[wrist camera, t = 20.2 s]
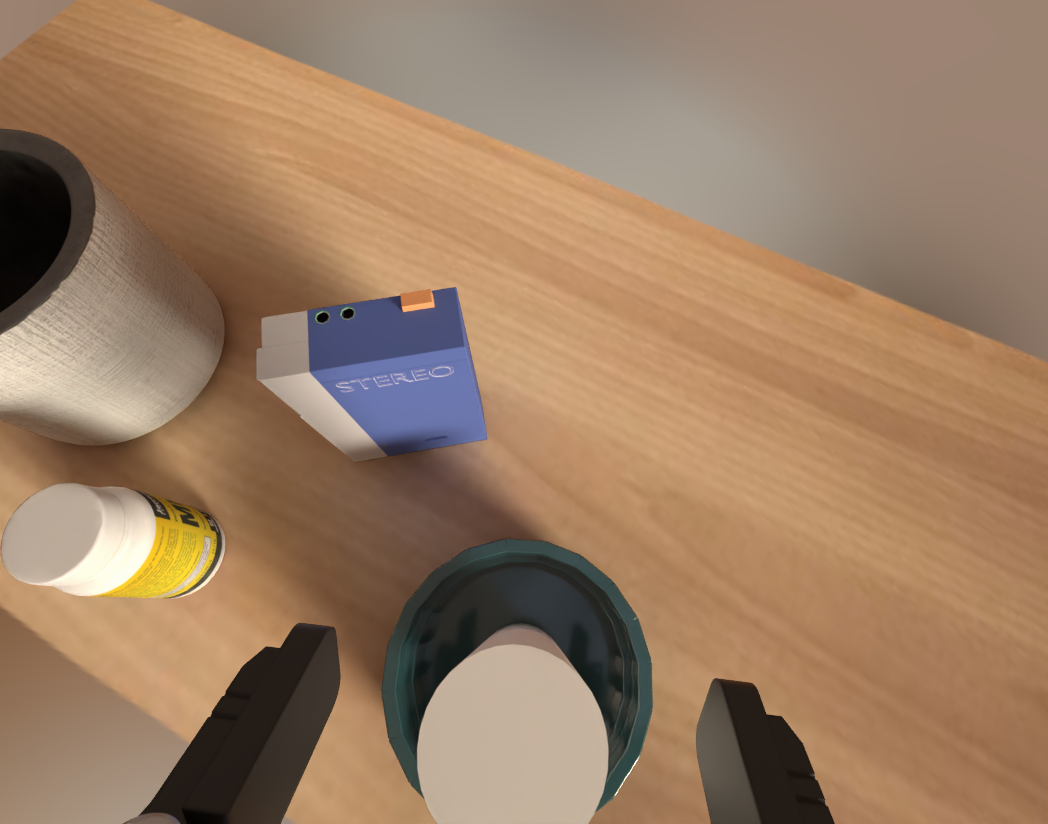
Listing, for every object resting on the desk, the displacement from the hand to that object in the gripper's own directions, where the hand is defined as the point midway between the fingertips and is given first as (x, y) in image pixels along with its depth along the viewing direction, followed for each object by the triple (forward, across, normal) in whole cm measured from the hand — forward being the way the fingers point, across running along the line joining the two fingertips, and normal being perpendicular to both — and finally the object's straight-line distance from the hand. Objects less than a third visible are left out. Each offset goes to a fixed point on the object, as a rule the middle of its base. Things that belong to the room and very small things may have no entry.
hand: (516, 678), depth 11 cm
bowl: (+11, 0, +13) cm, 17 cm away
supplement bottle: (+13, +19, +11) cm, 25 cm away
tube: (+10, 0, +13) cm, 16 cm away
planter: (+21, +26, +3) cm, 34 cm away
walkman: (+19, +7, +5) cm, 21 cm away
